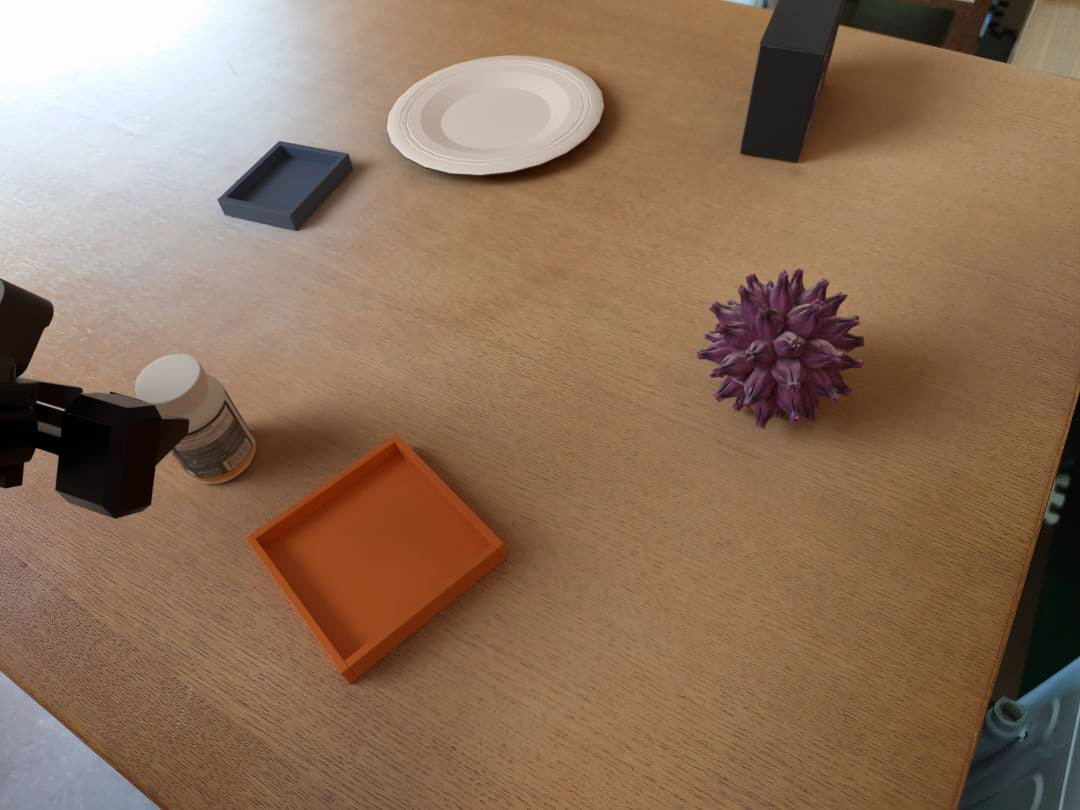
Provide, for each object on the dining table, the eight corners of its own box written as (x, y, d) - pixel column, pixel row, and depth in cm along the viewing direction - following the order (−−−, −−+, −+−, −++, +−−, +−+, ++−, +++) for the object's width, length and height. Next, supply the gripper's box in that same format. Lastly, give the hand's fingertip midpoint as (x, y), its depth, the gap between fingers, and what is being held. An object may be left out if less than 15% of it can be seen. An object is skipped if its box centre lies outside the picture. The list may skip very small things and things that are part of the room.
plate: (351, 171, 86) (346, 156, 85) (444, 60, 101) (441, 46, 99) (563, 203, 80) (562, 187, 78) (630, 79, 94) (630, 64, 92)
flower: (699, 457, 60) (686, 328, 66) (860, 450, 59) (833, 318, 64) (708, 388, 50) (692, 241, 55) (903, 376, 49) (867, 227, 54)
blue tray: (296, 231, 80) (289, 215, 79) (224, 215, 83) (216, 199, 82) (353, 169, 87) (348, 153, 85) (285, 155, 90) (279, 140, 88)
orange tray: (349, 685, 50) (340, 673, 48) (254, 551, 57) (244, 538, 55) (507, 557, 55) (504, 543, 53) (402, 448, 61) (396, 433, 60)
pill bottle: (183, 445, 64) (122, 364, 56) (252, 419, 65) (202, 337, 57) (192, 498, 60) (128, 419, 52) (264, 470, 61) (212, 390, 53)
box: (802, 165, 80) (826, 52, 71) (738, 156, 82) (752, 44, 73) (829, 82, 90) (852, -28, 80) (770, 75, 92) (787, -33, 82)
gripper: (29, 313, 34) (263, 319, 49) (-245, 241, 39) (41, 266, 54) (7, 554, 35) (239, 489, 50) (-253, 453, 41) (26, 421, 56)
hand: (132, 410), depth 52 cm, fingers open, 9 cm apart
